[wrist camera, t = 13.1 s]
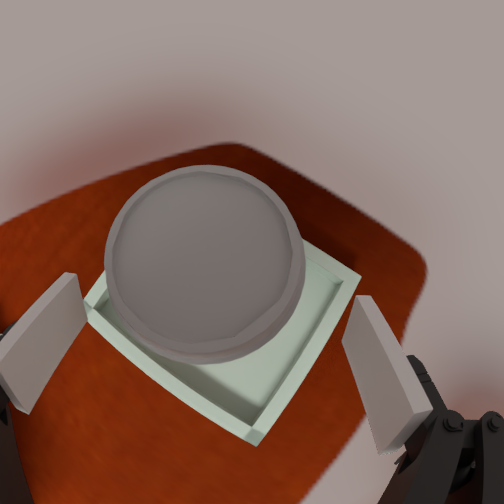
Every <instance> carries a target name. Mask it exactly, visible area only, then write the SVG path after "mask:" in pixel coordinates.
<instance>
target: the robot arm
mask: <svg viewBox="0 0 504 504" xmlns="http://www.w3.org/2000/svg"><path fill="white" fill-rule="evenodd" d="M87 320H88V318H87V314H86V311H85V307H84V303H83V299H82V295H81V291H80V287H79V282H78V278H77V274H74V273H66V272H65V273H64V274H63V275H62V276H61V277H60V278H59V279H57V280H56V281H55V282H54V283H53V284H52V285H51V286H50V287H49V288H48V289H47V290H46V291H45V292H44V294H43V295H42V296H41V297H40V298H39V299H38V300H37V301H36V302H35V303H34V304H33V305H32V306H31V307H30V308H29V309H28V310H27V311H26V313H25V314H24V315H23V316H22V317H21V318H20V319H19V320H17V321H16V322H14V323H13V324H11V325H10V326H8V327H7V329H6V330H5V331H4V332H3V333H2V335H1V336H0V504H34V502H33V499H32V496H31V494H30V491H29V488H28V485H27V481H26V478H25V475H24V472H23V468H22V464H21V461H20V457H19V453H18V448H17V444H16V439H15V434H14V429H13V423H12V417H11V411H10V408H9V406H8V402H9V400H11V402H12V403H13V405H14V406H15V407H16V409H18V410H20V411H22V412H24V413H26V414H28V415H29V414H30V412H31V410H32V408H33V407H34V405H35V403H36V401H37V399H38V398H39V396H40V394H41V392H42V391H43V389H44V387H45V386H46V384H47V382H48V380H49V379H50V377H51V376H52V374H53V372H54V371H55V369H56V367H57V366H58V364H59V363H60V361H61V359H62V358H63V356H64V355H65V353H66V352H67V350H68V349H69V347H70V345H71V344H72V342H73V341H74V339H75V338H76V336H77V335H78V334H79V332H80V331H81V329H82V328H83V326H84V325H85V323H86V322H87ZM342 344H343V347H344V349H345V352H346V355H347V358H348V361H349V364H350V366H351V369H352V372H353V375H354V378H355V381H356V384H357V387H358V390H359V393H360V396H361V399H362V402H363V405H364V408H365V411H366V414H367V417H368V421H369V424H370V427H371V430H372V433H373V437H374V440H375V443H376V447H377V450H378V454H379V455H384V454H388V453H393V452H397V451H398V450H399V449H400V448H401V447H402V445H403V444H405V448H406V451H405V452H404V453H403V455H402V456H400V457H399V458H398V459H397V461H396V462H395V463H394V464H398V463H399V464H398V467H397V469H396V471H395V473H394V474H393V476H392V478H391V480H390V482H389V484H388V486H387V488H386V490H385V491H384V493H383V495H382V497H381V498H380V500H379V502H378V504H504V419H503V417H502V416H501V415H500V414H498V413H497V412H493V411H489V412H487V413H485V414H484V415H483V416H482V417H481V418H480V420H464V418H463V417H462V416H461V415H460V414H459V413H457V412H456V411H453V410H447V408H446V406H445V404H444V402H443V400H442V398H441V396H440V394H439V393H438V391H437V389H436V387H435V385H434V383H433V382H432V381H431V378H430V376H429V375H428V374H427V371H426V369H425V367H424V365H423V364H422V363H421V361H419V360H418V359H417V358H416V357H415V356H414V355H408V356H406V355H405V353H404V352H403V350H402V348H401V346H400V344H399V343H398V341H397V339H396V337H395V336H394V334H393V332H392V330H391V329H390V327H389V325H388V324H387V322H386V320H385V318H384V317H383V315H382V313H381V312H380V310H379V308H378V307H377V305H376V303H375V302H374V300H373V299H372V297H371V296H365V295H356V297H355V300H354V304H353V307H352V310H351V313H350V317H349V320H348V323H347V326H346V329H345V332H344V335H343V338H342Z"/></svg>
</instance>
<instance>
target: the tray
mask: <svg viewBox="0 0 504 504" xmlns="http://www.w3.org/2000/svg"><path fill="white" fill-rule="evenodd" d="M302 241H303V244H304V251H305V258H306V272H305V283H304V287H303V290H302V294H301V297H300V300H299V302H298V305H297V307H296V309H295V311H294V313H293V314H292V316H291V318H290V319H289V321H288V322H287V324H286V325H285V326H284V327H283V328H282V329H281V330H280V331H279V332H278V334H277V335H276V336H275V337H274V338H273V339H271V340H270V341H269V342H268V343H266V344H265V345H264V346H262V347H261V348H260V349H258V350H256V351H254V352H252V353H250V354H248V355H246V356H244V357H242V358H239V359H236V360H233V361H229V362H225V363H221V364H207V365H196V364H189V363H183V362H177V361H173V360H171V359H168V358H166V357H164V356H161V355H159V354H157V353H155V352H152V351H151V350H150V349H148V348H147V347H146V346H144V345H143V344H142V343H140V342H139V341H138V340H136V339H135V338H134V337H133V336H132V335H131V334H130V332H129V331H128V330H127V329H126V328H125V326H124V325H123V324H122V323H121V321H120V319H119V317H118V315H117V314H116V312H115V310H114V308H113V306H112V304H111V300H110V296H109V292H108V288H107V284H106V274H105V271H104V272H103V273H102V275H101V276H100V277H99V279H98V280H97V281H96V283H95V284H94V286H93V287H92V288H91V290H90V291H89V293H88V294H87V296H86V297H85V298H84V300H83V303H84V307H85V311H86V314H87V318H88V320H87V321H88V322H89V323H90V324H91V325H92V326H93V327H94V328H95V329H96V330H97V331H98V332H99V333H100V334H101V335H102V336H103V337H104V338H105V339H106V340H107V341H109V342H110V343H111V344H112V345H113V346H114V347H115V348H116V349H117V350H119V351H120V352H121V353H122V354H123V355H124V356H125V357H127V358H128V359H129V360H130V361H131V362H133V363H134V364H135V365H136V366H137V367H139V368H140V369H141V370H142V371H143V372H145V373H146V374H147V375H148V376H150V377H151V378H152V379H154V380H155V381H156V382H157V383H159V384H160V385H161V386H163V387H164V388H165V389H167V390H168V391H169V392H171V393H172V394H173V395H175V396H176V397H178V398H179V399H180V400H182V401H183V402H185V403H186V404H188V405H189V406H190V407H192V408H193V409H195V410H196V411H198V412H199V413H201V414H202V415H204V416H205V417H207V418H209V419H210V420H212V421H213V422H215V423H217V424H218V425H220V426H221V427H223V428H225V429H226V430H228V431H230V432H231V433H233V434H235V435H236V436H238V437H240V438H242V439H243V440H245V441H247V442H249V443H251V444H253V445H254V446H256V447H257V445H258V444H259V443H260V442H261V440H262V439H263V438H264V436H265V435H266V433H267V432H268V431H269V429H270V428H271V427H272V425H273V424H274V423H275V421H276V420H277V418H278V417H279V415H280V414H281V413H282V411H283V410H284V408H285V407H286V405H287V404H288V402H289V401H290V400H291V398H292V397H293V395H294V394H295V392H296V391H297V389H298V387H299V386H300V384H301V383H302V381H303V380H304V378H305V377H306V375H307V373H308V372H309V370H310V369H311V367H312V365H313V364H314V362H315V361H316V359H317V357H318V356H319V354H320V352H321V351H322V349H323V347H324V345H325V344H326V342H327V340H328V339H329V337H330V335H331V333H332V332H333V330H334V328H335V326H336V324H337V323H338V321H339V319H340V317H341V315H342V314H343V312H344V310H345V308H346V306H347V304H348V302H349V300H350V298H351V297H352V295H353V293H354V291H355V289H356V287H357V285H358V283H359V281H360V279H361V276H360V275H358V274H357V273H355V272H354V271H352V270H351V269H349V268H348V267H346V266H345V265H343V264H342V263H340V262H338V261H337V260H335V259H334V258H332V257H331V256H329V255H327V254H326V253H324V252H323V251H321V250H320V249H318V248H316V247H315V246H313V245H312V244H310V243H308V242H307V241H305V240H304V239H302Z"/></svg>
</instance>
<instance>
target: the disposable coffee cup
mask: <svg viewBox="0 0 504 504" xmlns="http://www.w3.org/2000/svg"><path fill="white" fill-rule="evenodd" d="M104 266H105V274H106V284H107V288H108V292H109V296H110V300H111V304H112V306H113V308H114V310H115V312H116V314H117V315H118V317H119V319H120V321H121V323H122V324H123V325H124V326H125V328H126V329H127V330H128V331H129V332H130V334H131V335H132V336H133V337H134V338H135V339H136V340H138V341H139V342H140V343H142V344H143V345H144V346H146V347H147V348H148V349H150V350H151V351H152V352H155V353H157V354H159V355H161V356H164V357H166V358H168V359H171V360H173V361H177V362H183V363H189V364H196V365H207V364H221V363H225V362H229V361H233V360H236V359H239V358H242V357H244V356H246V355H248V354H250V353H252V352H254V351H256V350H258V349H260V348H261V347H262V346H264V345H265V344H266V343H268V342H269V341H270V340H271V339H273V338H274V337H275V336H276V335H277V334H278V332H279V331H280V330H281V329H282V328H283V327H284V326H285V325H286V324H287V322H288V321H289V319H290V318H291V316H292V314H293V313H294V311H295V309H296V307H297V305H298V302H299V300H300V297H301V294H302V290H303V287H304V283H305V272H306V258H305V251H304V244H303V241H302V238H301V235H300V233H299V230H298V228H297V225H296V223H295V221H294V219H293V217H292V216H291V214H290V212H289V210H288V208H287V206H286V205H285V204H284V202H283V201H282V200H281V199H280V198H279V197H278V195H277V194H276V193H275V192H274V191H273V190H272V189H270V188H269V187H268V186H267V185H266V184H264V183H263V182H261V181H259V180H258V179H256V178H255V177H253V176H251V175H249V174H246V173H244V172H241V171H239V170H236V169H232V168H228V167H224V166H215V165H195V166H190V167H184V168H179V169H176V170H174V171H171V172H169V173H166V174H164V175H162V176H159V177H157V178H155V179H153V180H151V181H150V182H148V183H147V184H146V185H144V186H143V187H141V188H140V189H139V190H138V191H137V192H136V193H135V194H134V195H133V196H132V197H130V198H129V199H128V200H127V202H126V203H125V205H124V206H123V208H122V209H121V211H120V212H119V214H118V215H117V216H116V218H115V220H114V223H113V225H112V227H111V229H110V232H109V235H108V239H107V243H106V249H105V258H104Z"/></svg>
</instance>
